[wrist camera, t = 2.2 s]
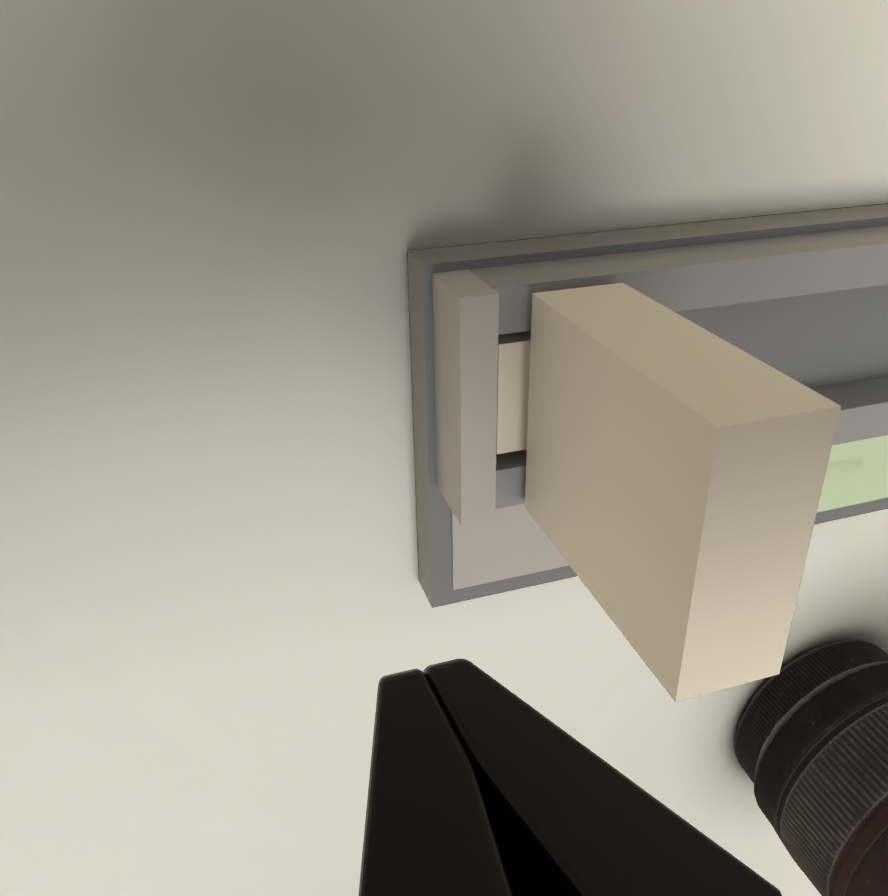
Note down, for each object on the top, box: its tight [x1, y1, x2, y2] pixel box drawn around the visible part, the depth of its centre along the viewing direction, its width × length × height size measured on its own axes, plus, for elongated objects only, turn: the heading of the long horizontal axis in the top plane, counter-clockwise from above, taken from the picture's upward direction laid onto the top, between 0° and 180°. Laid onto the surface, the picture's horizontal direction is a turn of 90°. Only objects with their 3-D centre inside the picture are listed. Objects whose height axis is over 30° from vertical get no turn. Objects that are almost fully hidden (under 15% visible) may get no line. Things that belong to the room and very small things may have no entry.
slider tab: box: [496, 283, 841, 702], centre depth 16 cm, size 3×5×8 cm, turn 1°
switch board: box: [407, 204, 888, 608], centre depth 21 cm, size 16×9×3 cm, turn 91°
